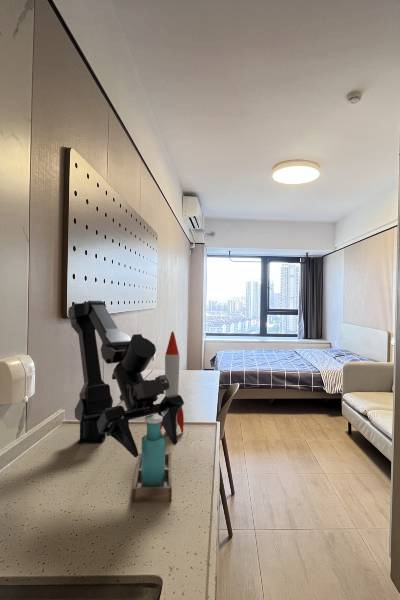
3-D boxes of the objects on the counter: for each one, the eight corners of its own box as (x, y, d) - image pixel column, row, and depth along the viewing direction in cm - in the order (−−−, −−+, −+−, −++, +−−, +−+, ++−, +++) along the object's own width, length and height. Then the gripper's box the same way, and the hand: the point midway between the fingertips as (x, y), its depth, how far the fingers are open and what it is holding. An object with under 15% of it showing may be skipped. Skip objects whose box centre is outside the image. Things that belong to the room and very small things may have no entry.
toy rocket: (183, 433, 100) (186, 331, 100) (167, 436, 97) (169, 332, 97) (174, 427, 105) (177, 330, 105) (158, 430, 102) (160, 330, 102)
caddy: (132, 502, 66) (132, 489, 66) (138, 464, 81) (139, 453, 81) (171, 501, 66) (171, 487, 66) (170, 463, 82) (171, 452, 82)
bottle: (143, 495, 67) (144, 423, 67) (138, 483, 71) (139, 415, 71) (167, 490, 69) (168, 420, 69) (160, 478, 73) (161, 412, 73)
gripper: (103, 368, 67) (129, 443, 59) (180, 359, 79) (210, 420, 70) (87, 399, 73) (109, 470, 65) (161, 386, 85) (187, 445, 76)
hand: (157, 450), depth 69 cm, fingers open, 9 cm apart
